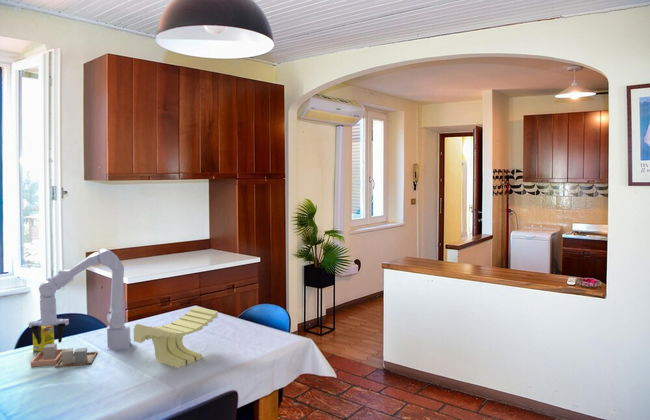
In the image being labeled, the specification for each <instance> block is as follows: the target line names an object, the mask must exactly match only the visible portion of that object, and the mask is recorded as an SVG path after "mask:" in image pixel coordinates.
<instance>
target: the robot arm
mask: <svg viewBox="0 0 650 420" xmlns="http://www.w3.org/2000/svg"><path fill="white" fill-rule="evenodd" d="M100 264H101V265H103V266H105V267H107V268H109V270H111V282H110V283H111V285H110V287H111V288H110V306H109V310H108V313H107V315H106V322H107V323H108V325H107V327H106V337H107V339H106V340H107V341H106V343H107V346H106V347H105V351H110V350H114V351H115V350H124V349H125V350H126V349H129V348H130V345H131V341H132V339H131V327H130V326H125V323H126V322H125V318H124V310H123V296H124V295H123V293H124V292H123V291H124V275H125V268H124V267H125V266H124V264H123V263H122V262H121V260H120V259H119V257H118V255H116V254H115V253H114V252H113V251H112V250H110V249H109V248H106V247H105V248H104V247H103V248H100V249H99V250H98V251H96V252H93V253H91V254H89V255H88V256H87V257H86V258H84V259H83V260H81V261H80V262H78V263H77V264H75V265H74V266H73V267H71V268H70V269H62V270H61V269H60V270H58V271H57V273H56V274H55V275H53V276H52V277H48V278H47V279H46V281H43V282H41V283H40V285H39V287H38V292H39V294H40V296H39V299H40V300H39V304H40V305H39V310H40V311H39V312H40V319H39V320H34V321H32V320H31V321H29V322H28V328H29V329H30V328H31V329H30V331H31V333H32V335H33V334H34V335H35V337H36V339H37V342H38V344H40V343H41V326H51V325H54V326H56V329H57V336H58V337H57V338H58V339H57V342H58V344H59V343H62V339H63V336H64V332H65V329H66V326H68V325H69V324H70V322H69V321H70V319H69V318H57V317H58V316H57V298H56V291H57V290H61V289H63V288H64V287H65V286H67V285H69V284H70V283H71V282H73V280H74V277H75V276H77V275H78V274H80V273H81V272H83V271H85V270H87V269H88V268H91V266H100Z"/></svg>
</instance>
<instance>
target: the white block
mask: <svg viewBox="0 0 650 420" xmlns="http://www.w3.org/2000/svg"><path fill="white" fill-rule="evenodd" d="M61 349H62V364H63V365H65V364H71V363H74V355H73V353H74V347H70V348H61Z"/></svg>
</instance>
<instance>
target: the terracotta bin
mask: <svg viewBox="0 0 650 420" xmlns="http://www.w3.org/2000/svg"><path fill="white" fill-rule="evenodd" d="M62 349H63V348H59V349H58V348H57V356H56V357H55V358H54V359H44V358H43V350H42V351H40V352H37V354H36V356H35V357H34V358H33V359H31V361H30V367H31V368H32V367H34V368H35V367H44V366H55V365H56V364H57V363H58V361H59V360H60V359H61V357H62Z"/></svg>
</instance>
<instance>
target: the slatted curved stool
mask: <svg viewBox="0 0 650 420" xmlns="http://www.w3.org/2000/svg"><path fill="white" fill-rule="evenodd" d="M218 318H219V317H218V311H217V310H213V309H208V308H204V307H201V306H200V307H199V306H196V307H193V308H191V309H190V310H189V311H187V312H185V313H184V315H183V316H180V317H179V319H176V320H174V321H172V322H171V323H167V324H164V325H161V326H158V325H157V326H148V325H144V324H140V323H137V324H136V325H134V327H133V342H136V343H139V344H142V343H144V342H145V341H146V340H147V341H148V340H152V345H153V346H154V356H155V360H156V362H158V363H162V364H165V365H168V366H170V365H171V366H170V367H173V366H175V367H174V368H176V367H178V368H177V369H179V367H180V368H182V367H184V365H185V366H186V365H189V363H190V364H192V363H194V362H195V361H196V360H197V361H199V360H202V359H203V358H204V357H203V355H202V353H199V352H195V351H194V350H190V349H189V348H187V347H185V345H184V344H183V339H184V336H186V335H188V336H189V335H190V334H192V333H195V332H199V331H201V330H203V329H204V327H207V326H209V323H213V321H214V320H213V319H218ZM201 358H202V359H201ZM198 359H199V360H198ZM191 362H192V363H191ZM181 366H182V367H181Z"/></svg>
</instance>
